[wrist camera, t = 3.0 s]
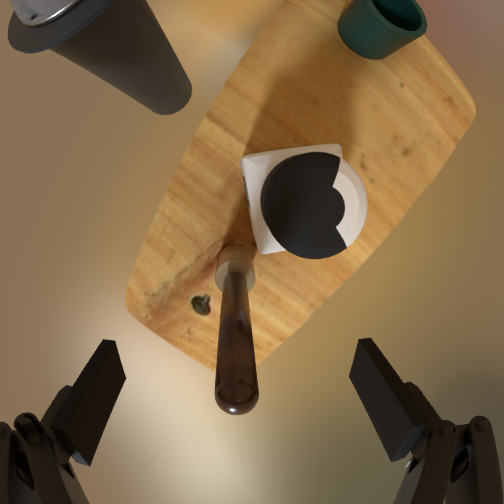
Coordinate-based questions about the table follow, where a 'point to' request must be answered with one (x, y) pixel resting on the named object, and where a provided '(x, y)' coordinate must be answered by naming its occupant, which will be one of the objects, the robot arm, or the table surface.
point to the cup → (381, 26)
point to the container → (304, 200)
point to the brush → (235, 333)
